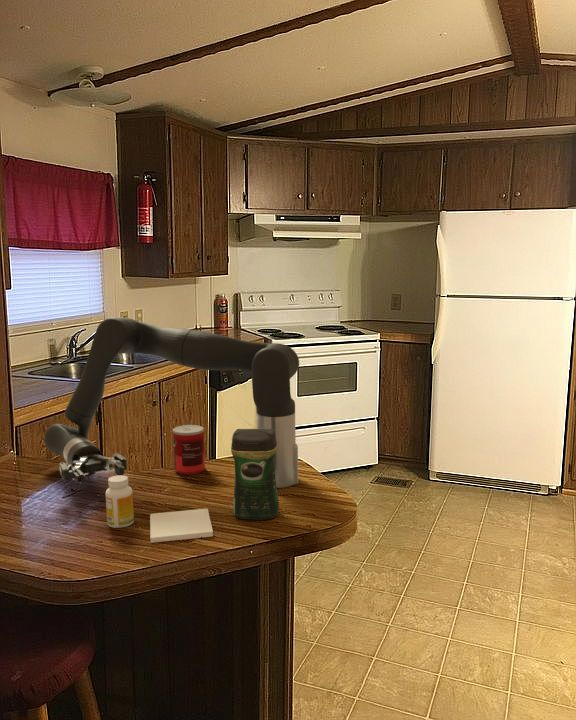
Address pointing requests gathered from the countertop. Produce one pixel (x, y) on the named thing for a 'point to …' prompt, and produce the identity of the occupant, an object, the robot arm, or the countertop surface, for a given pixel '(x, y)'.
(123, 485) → the supplement bottle
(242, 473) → the coffee jar
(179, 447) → the canned food
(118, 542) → the countertop surface
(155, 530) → the bay plate
